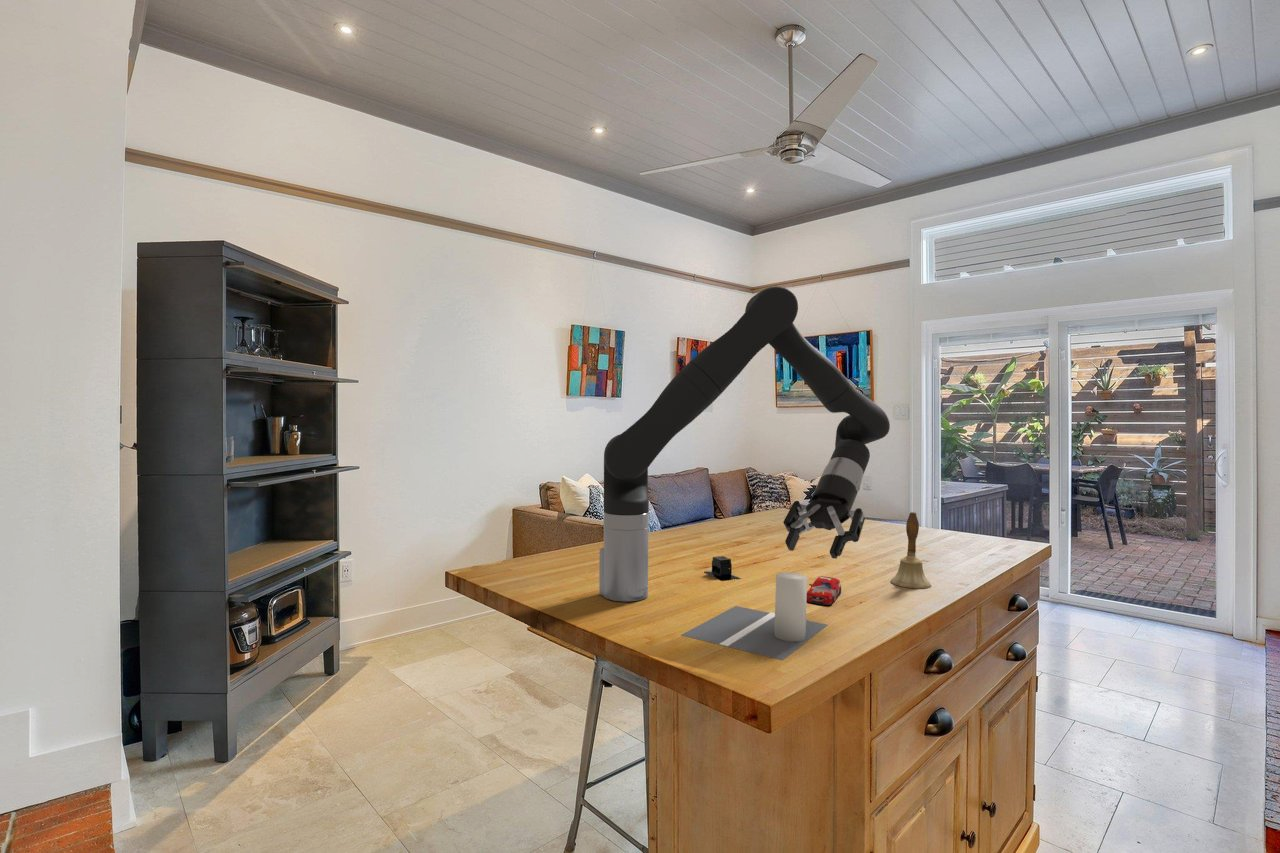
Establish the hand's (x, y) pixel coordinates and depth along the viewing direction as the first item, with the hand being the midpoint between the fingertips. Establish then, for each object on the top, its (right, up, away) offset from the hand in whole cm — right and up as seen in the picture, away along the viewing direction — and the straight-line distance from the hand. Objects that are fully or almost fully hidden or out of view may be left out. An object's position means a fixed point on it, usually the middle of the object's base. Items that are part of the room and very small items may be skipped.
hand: (810, 551), depth 115 cm
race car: (+7, -13, +13) cm, 19 cm away
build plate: (-12, -12, +31) cm, 36 cm away
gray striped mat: (-11, -12, -8) cm, 18 cm away
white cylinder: (-7, -12, -11) cm, 18 cm away
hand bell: (+29, -12, +25) cm, 40 cm away
